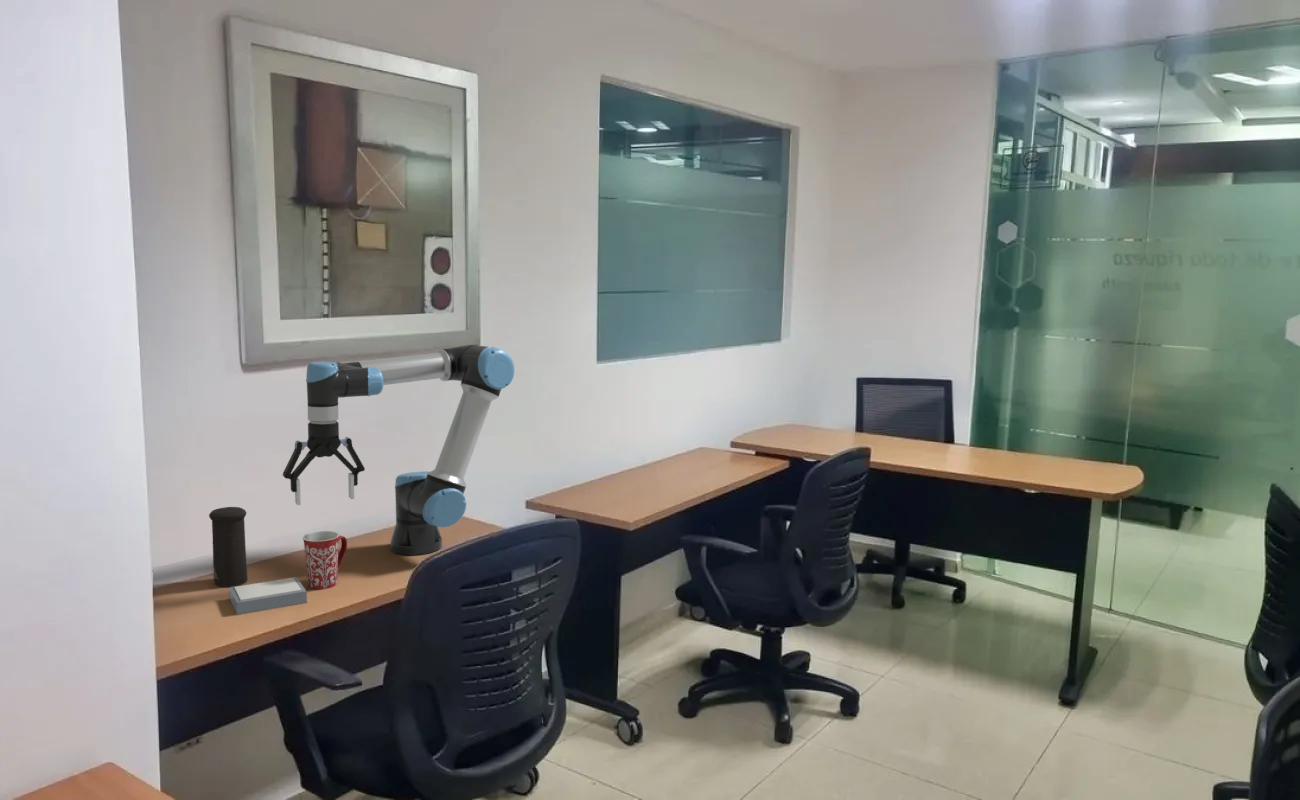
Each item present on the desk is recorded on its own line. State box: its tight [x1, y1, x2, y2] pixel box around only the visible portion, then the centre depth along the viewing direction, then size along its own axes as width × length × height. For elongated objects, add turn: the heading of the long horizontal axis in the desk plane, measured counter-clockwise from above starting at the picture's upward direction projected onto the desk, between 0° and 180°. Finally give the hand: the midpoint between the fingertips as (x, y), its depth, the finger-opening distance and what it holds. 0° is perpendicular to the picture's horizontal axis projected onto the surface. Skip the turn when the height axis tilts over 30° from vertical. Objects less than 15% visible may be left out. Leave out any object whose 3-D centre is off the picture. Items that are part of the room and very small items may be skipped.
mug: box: [302, 530, 348, 590], centre depth 236 cm, size 13×9×14 cm
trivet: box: [229, 576, 308, 616], centre depth 223 cm, size 16×12×3 cm
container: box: [208, 506, 248, 588], centre depth 234 cm, size 9×9×20 cm
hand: (325, 500), depth 233 cm, fingers open, 13 cm apart
